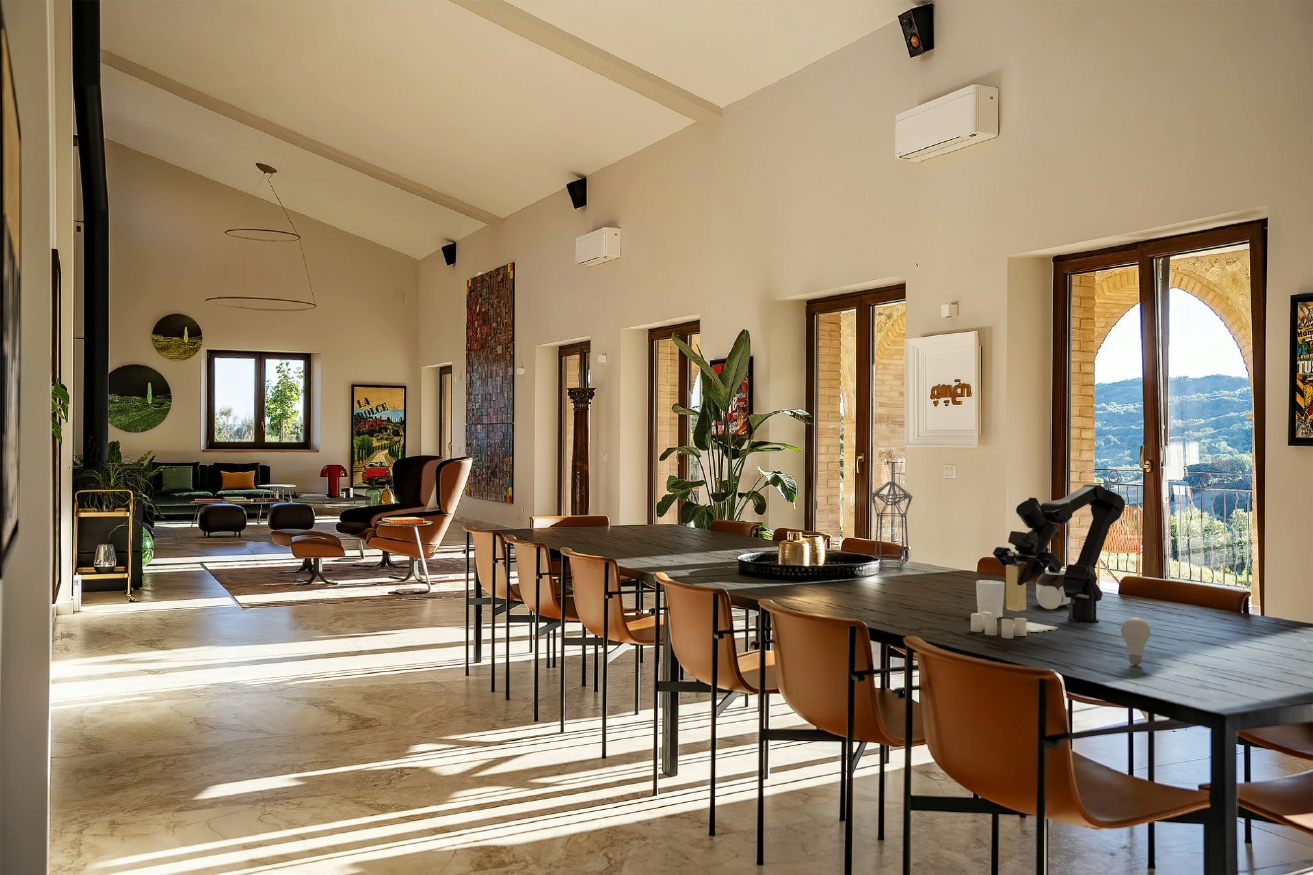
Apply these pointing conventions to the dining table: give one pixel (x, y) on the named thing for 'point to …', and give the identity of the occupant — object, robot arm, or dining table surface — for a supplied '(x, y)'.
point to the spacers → (990, 625)
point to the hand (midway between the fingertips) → (1012, 583)
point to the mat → (1039, 627)
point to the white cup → (990, 597)
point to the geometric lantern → (907, 495)
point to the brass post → (1015, 588)
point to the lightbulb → (1135, 638)
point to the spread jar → (1051, 590)
